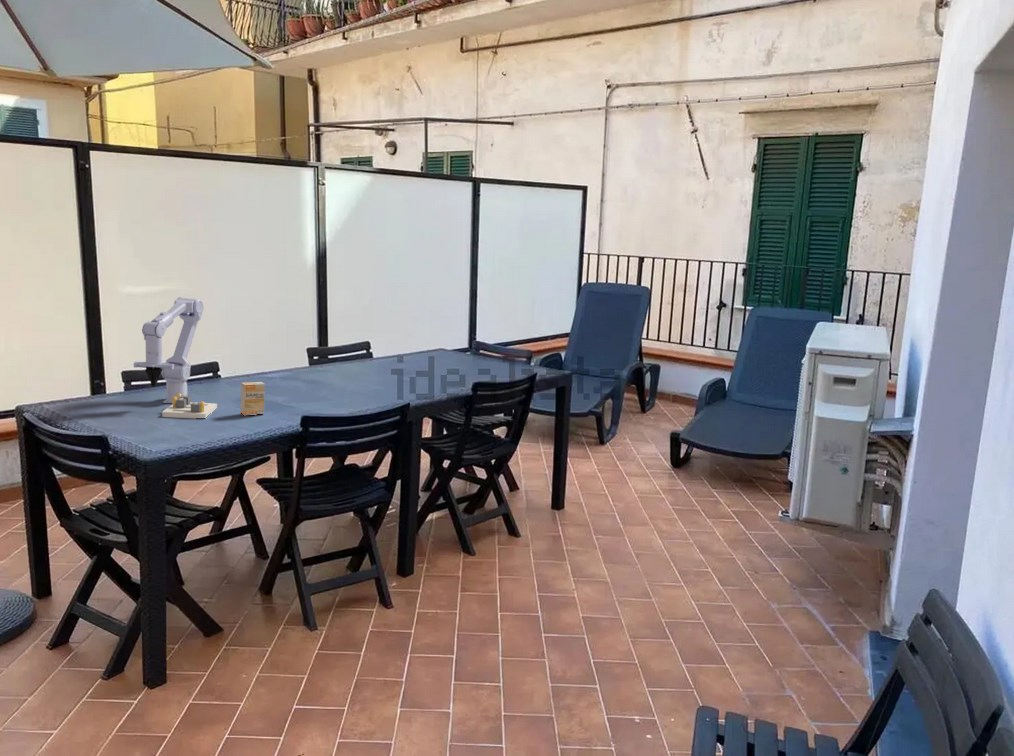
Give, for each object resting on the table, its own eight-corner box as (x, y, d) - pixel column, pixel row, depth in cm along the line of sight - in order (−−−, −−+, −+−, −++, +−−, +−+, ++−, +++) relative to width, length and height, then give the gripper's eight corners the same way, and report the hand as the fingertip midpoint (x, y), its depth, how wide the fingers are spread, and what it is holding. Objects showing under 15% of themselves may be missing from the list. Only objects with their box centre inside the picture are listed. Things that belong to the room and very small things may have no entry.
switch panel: (176, 406, 305) (176, 392, 304) (217, 408, 307) (217, 394, 306) (162, 416, 289) (162, 401, 288) (205, 418, 291) (205, 403, 290)
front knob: (192, 410, 294) (192, 401, 294) (200, 410, 295) (200, 402, 294) (190, 411, 291) (190, 403, 291) (198, 412, 292) (198, 403, 291)
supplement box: (243, 416, 298) (244, 384, 296) (240, 414, 302) (240, 382, 300) (264, 415, 303) (265, 383, 301) (260, 412, 307) (261, 381, 304)
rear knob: (182, 402, 304) (182, 394, 303) (190, 403, 304) (190, 394, 304) (180, 404, 301) (180, 396, 300) (188, 404, 301) (188, 396, 301)
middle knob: (178, 405, 299) (178, 397, 298) (186, 406, 299) (186, 397, 298) (176, 407, 296) (176, 399, 295) (184, 408, 296) (184, 399, 295)
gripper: (130, 352, 290) (131, 387, 292) (169, 355, 291) (170, 389, 294) (137, 349, 296) (137, 383, 299) (175, 352, 298) (175, 385, 301)
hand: (154, 386), depth 297 cm, fingers closed
